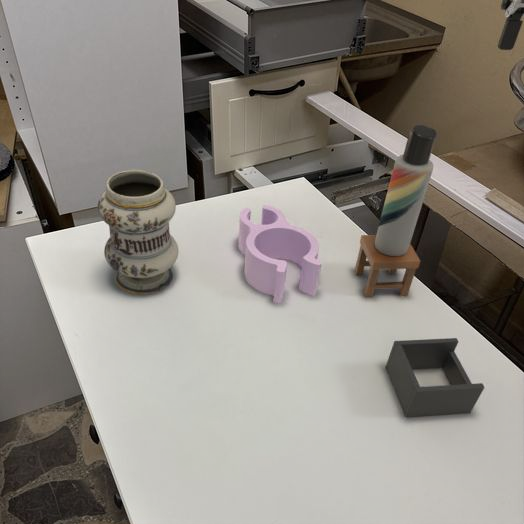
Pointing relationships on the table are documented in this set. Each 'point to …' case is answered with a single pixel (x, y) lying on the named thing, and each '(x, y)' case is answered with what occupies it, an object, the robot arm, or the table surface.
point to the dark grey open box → (432, 397)
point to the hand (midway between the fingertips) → (518, 58)
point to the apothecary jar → (139, 230)
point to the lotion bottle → (406, 192)
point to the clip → (277, 252)
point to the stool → (385, 266)
